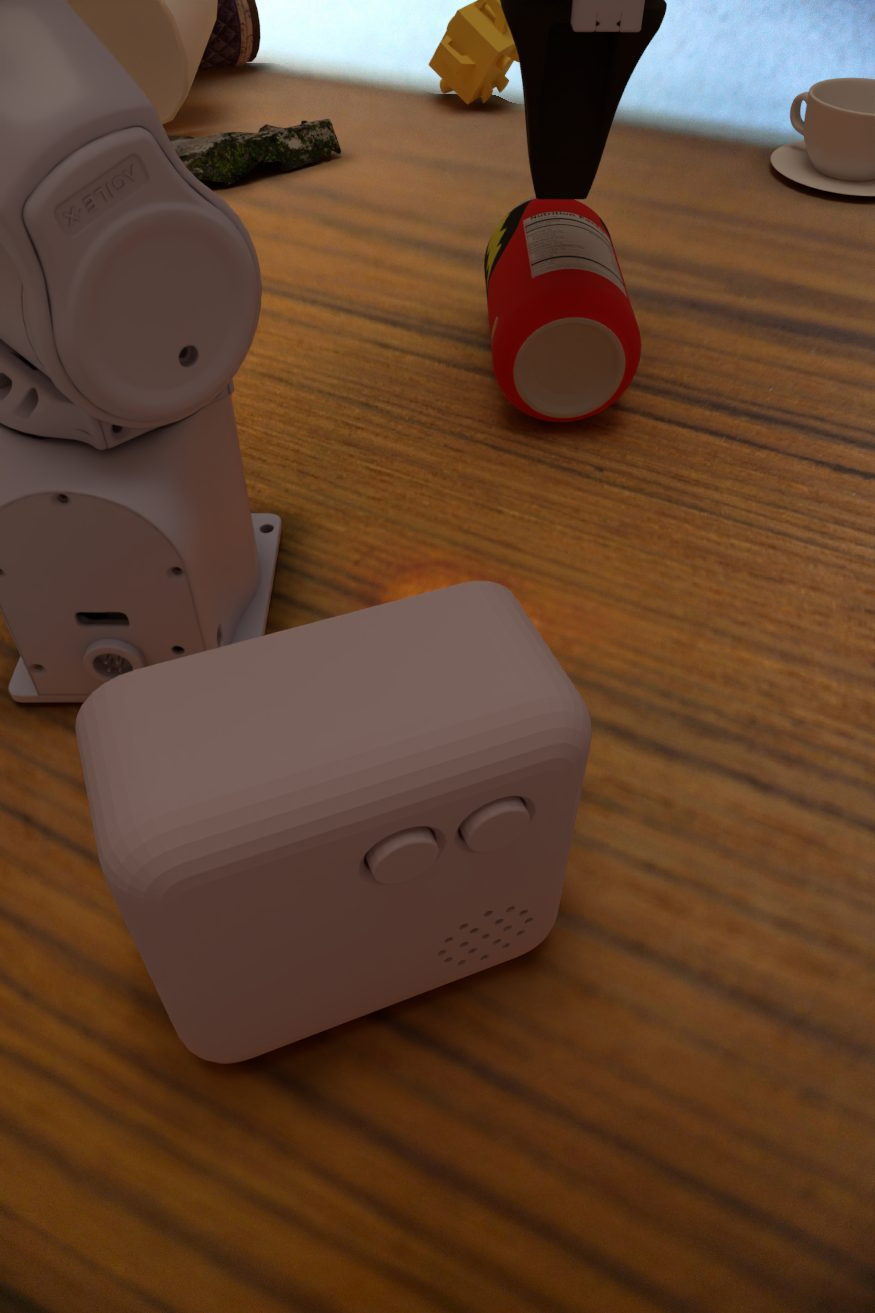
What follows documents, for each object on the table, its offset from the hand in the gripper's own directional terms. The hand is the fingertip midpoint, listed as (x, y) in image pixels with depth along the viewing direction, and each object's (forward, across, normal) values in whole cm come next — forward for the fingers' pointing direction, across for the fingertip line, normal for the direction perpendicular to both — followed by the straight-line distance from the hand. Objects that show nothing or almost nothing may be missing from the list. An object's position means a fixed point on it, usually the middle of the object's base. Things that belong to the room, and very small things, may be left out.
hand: (559, 192), depth 39 cm
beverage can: (+6, -4, -1) cm, 7 cm away
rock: (+8, +22, +20) cm, 31 cm away
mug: (+6, +46, +31) cm, 55 cm away
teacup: (+9, +27, -22) cm, 36 cm away
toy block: (+7, +41, 0) cm, 41 cm away
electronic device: (+9, -28, +7) cm, 30 cm away
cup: (-2, +47, +22) cm, 52 cm away
